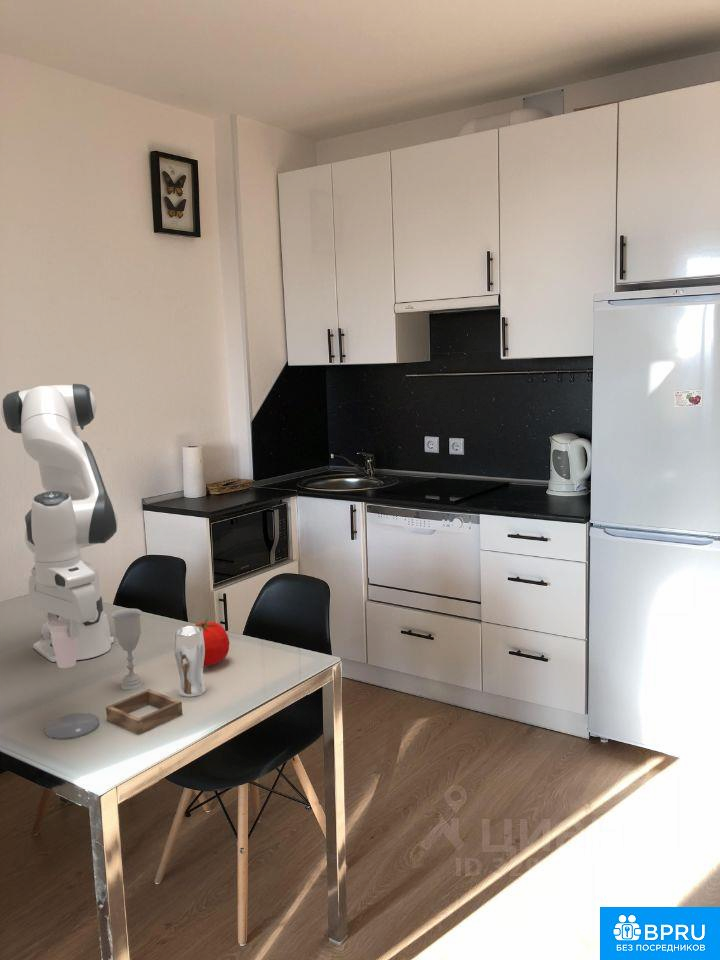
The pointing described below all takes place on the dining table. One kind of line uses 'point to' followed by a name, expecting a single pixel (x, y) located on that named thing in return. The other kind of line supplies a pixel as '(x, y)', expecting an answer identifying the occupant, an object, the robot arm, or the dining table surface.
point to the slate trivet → (72, 725)
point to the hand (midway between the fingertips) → (64, 633)
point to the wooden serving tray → (140, 725)
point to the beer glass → (190, 659)
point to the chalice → (128, 641)
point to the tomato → (214, 642)
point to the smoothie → (63, 642)
